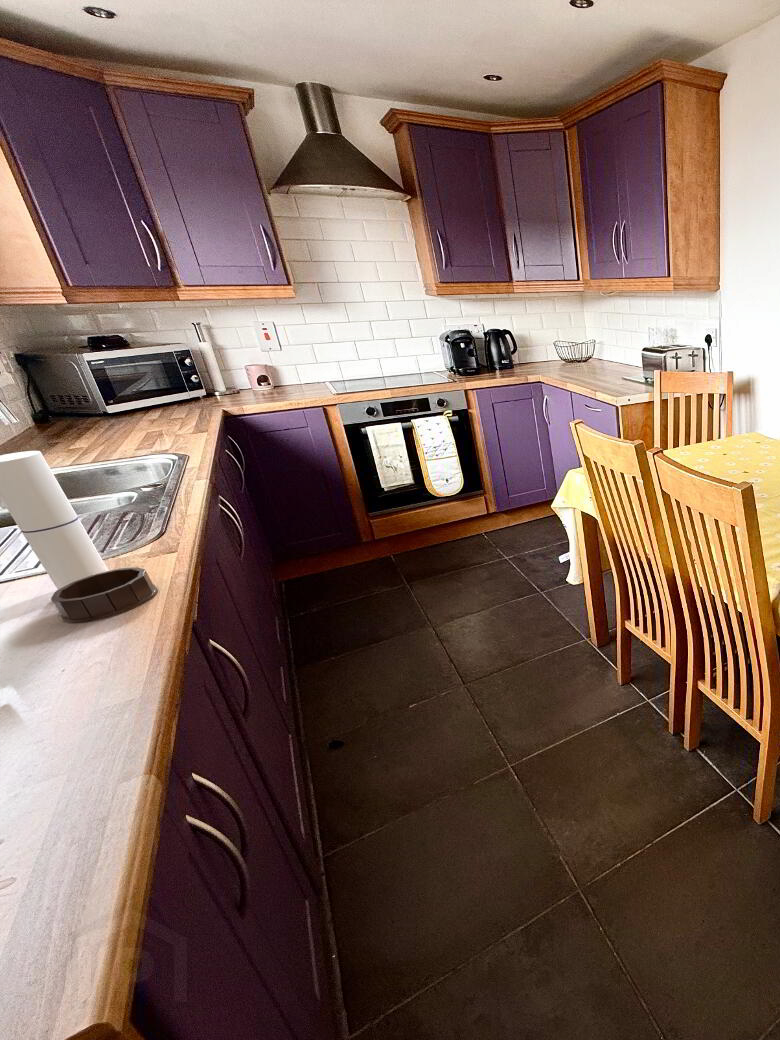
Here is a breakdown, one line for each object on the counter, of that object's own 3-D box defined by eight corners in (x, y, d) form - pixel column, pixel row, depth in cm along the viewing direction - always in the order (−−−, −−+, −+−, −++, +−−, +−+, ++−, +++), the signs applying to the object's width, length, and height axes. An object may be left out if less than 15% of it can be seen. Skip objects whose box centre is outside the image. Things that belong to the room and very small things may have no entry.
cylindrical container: (66, 598, 104) (-17, 465, 94) (54, 589, 108) (-27, 460, 97) (118, 581, 110) (45, 453, 99) (105, 573, 113) (34, 448, 102)
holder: (53, 632, 94) (39, 610, 92) (70, 602, 103) (58, 582, 101) (154, 605, 100) (142, 584, 99) (161, 579, 110) (151, 559, 108)
